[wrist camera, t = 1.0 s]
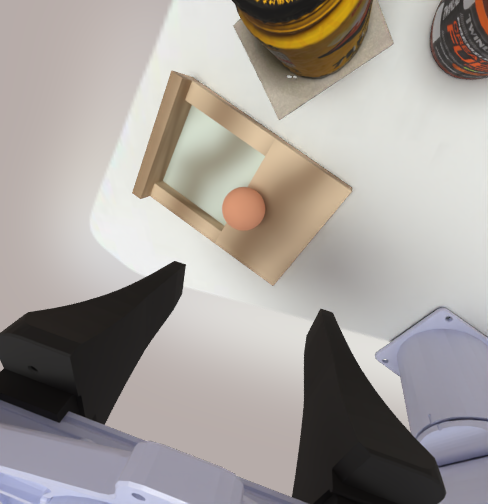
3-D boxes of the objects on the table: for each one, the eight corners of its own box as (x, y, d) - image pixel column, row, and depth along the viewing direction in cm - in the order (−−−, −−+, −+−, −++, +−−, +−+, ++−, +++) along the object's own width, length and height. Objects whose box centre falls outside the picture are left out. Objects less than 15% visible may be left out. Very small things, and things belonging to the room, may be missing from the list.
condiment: (393, 44, 17) (448, -74, 7) (279, 120, 22) (212, 113, 11) (347, -80, 16) (336, -444, 6) (234, 27, 20) (112, -77, 10)
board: (351, 187, 22) (351, 195, 19) (277, 278, 27) (269, 293, 25) (192, 77, 22) (171, 70, 20) (152, 187, 28) (132, 192, 26)
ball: (278, 199, 22) (266, 210, 19) (256, 230, 24) (243, 245, 21) (244, 175, 23) (227, 182, 20) (225, 208, 24) (207, 219, 21)
